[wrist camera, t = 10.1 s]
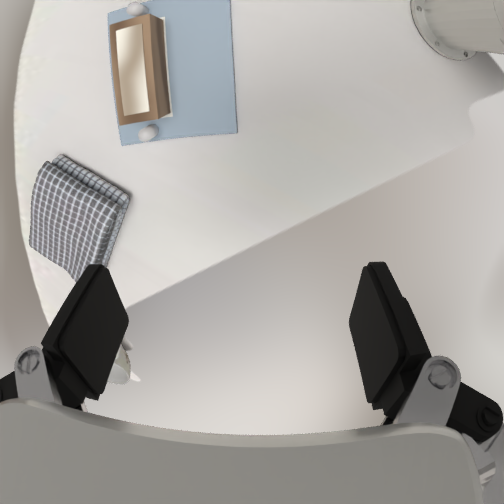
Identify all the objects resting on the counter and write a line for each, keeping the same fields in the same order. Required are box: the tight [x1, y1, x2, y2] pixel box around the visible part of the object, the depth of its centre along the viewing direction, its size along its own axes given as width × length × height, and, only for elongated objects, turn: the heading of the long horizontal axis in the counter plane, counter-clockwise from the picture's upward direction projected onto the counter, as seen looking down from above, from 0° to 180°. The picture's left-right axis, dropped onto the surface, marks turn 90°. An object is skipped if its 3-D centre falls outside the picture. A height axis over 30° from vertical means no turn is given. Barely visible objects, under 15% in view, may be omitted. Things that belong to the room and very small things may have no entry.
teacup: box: [107, 344, 130, 384], centre depth 59 cm, size 15×12×8 cm
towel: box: [29, 154, 130, 282], centre depth 39 cm, size 15×18×8 cm
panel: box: [108, 0, 237, 146], centre depth 28 cm, size 16×20×4 cm
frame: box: [109, 14, 171, 126], centre depth 27 cm, size 5×13×5 cm, turn 2°
